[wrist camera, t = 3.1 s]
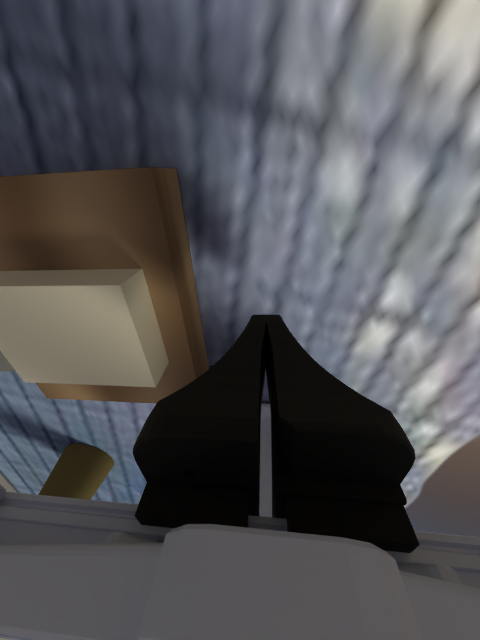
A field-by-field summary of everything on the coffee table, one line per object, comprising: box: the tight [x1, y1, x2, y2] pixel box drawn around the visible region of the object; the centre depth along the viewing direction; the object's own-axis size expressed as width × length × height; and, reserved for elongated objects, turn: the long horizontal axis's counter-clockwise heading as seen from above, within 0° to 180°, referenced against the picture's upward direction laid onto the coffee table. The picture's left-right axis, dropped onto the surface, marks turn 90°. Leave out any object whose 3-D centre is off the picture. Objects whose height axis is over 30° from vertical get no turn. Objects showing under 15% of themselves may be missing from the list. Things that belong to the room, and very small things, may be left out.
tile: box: [0, 269, 169, 387], centre depth 12 cm, size 8×6×2 cm
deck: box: [0, 167, 209, 403], centre depth 14 cm, size 12×14×3 cm
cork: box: [39, 444, 114, 500], centre depth 24 cm, size 6×6×11 cm
